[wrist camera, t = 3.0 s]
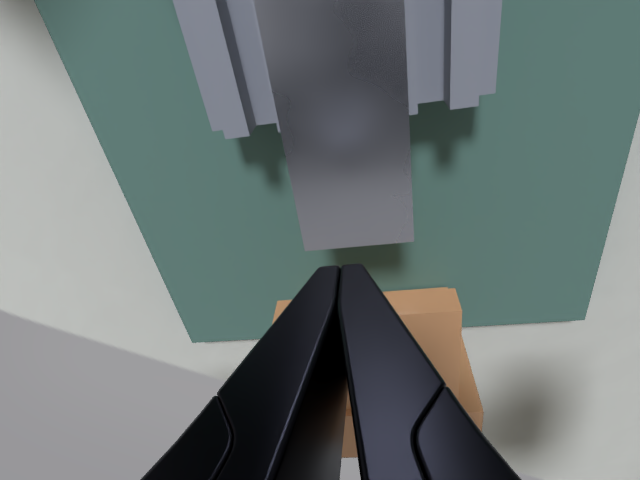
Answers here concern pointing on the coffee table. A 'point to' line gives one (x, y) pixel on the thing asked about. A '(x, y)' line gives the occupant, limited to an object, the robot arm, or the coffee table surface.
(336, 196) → the strap
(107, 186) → the coffee table surface
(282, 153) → the board
